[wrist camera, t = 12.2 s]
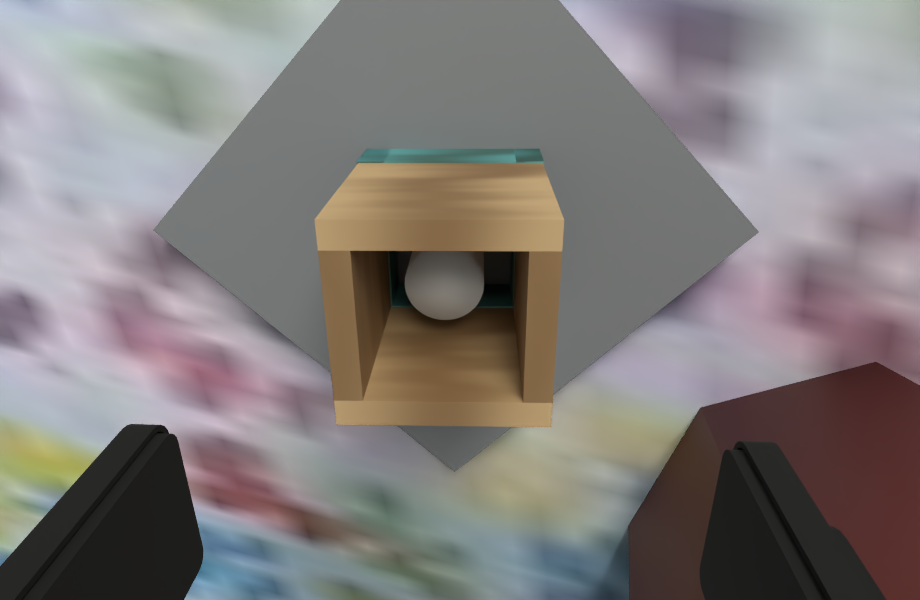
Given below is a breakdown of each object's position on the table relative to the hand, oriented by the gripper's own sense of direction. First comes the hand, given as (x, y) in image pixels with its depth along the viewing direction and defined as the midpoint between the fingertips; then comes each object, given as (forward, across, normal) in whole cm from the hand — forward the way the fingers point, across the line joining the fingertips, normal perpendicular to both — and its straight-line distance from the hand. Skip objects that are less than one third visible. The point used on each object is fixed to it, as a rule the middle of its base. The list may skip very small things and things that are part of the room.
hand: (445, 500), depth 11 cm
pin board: (+16, +1, 0) cm, 16 cm away
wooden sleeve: (+14, +1, 0) cm, 14 cm away
